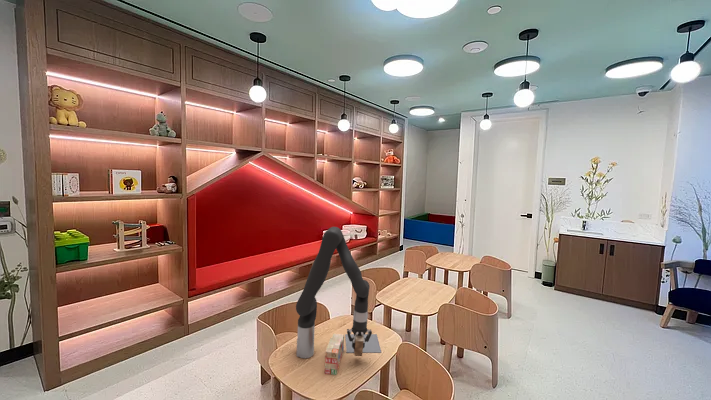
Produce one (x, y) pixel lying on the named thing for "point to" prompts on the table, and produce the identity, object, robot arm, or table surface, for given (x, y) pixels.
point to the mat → (370, 346)
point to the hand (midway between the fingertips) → (358, 347)
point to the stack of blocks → (334, 354)
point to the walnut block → (358, 346)
